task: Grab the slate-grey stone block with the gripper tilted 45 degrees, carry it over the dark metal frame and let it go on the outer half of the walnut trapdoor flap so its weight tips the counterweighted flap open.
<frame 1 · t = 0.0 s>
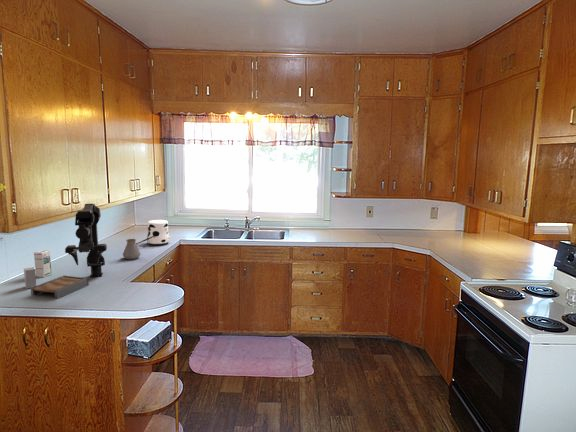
hand: (87, 264, 208), 15 cm above the worktop, tool pointing down, fingers open, 9 cm apart
coffee pot: (139, 258, 278), on the worktop
stone: (30, 286, 215), on the worktop
syrup box: (43, 275, 235), on the worktop
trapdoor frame: (62, 289, 213), on the worktop
trapdoor: (58, 286, 210), point 2 cm above the worktop, hinge at 0.0°
milk container: (158, 243, 320), on the worktop
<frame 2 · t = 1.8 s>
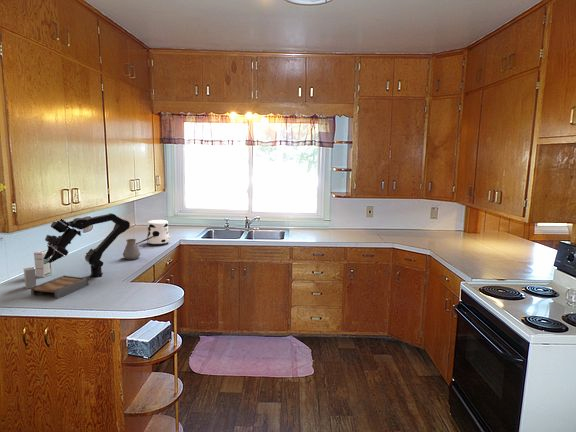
hand: (46, 260, 218), 13 cm above the worktop, tool tilted 45°, fingers open, 9 cm apart
nothing on the worktop moved.
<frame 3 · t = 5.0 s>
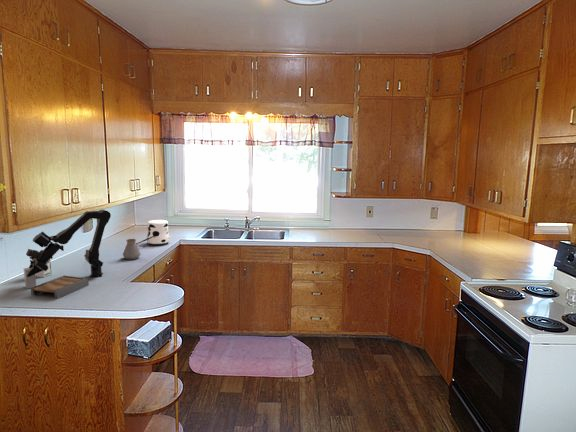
hand: (26, 275, 214), 7 cm above the worktop, tool tilted 45°, fingers closed on stone, 4 cm apart
stone: (30, 286, 215), on the worktop, touching gripper
everything else where it was.
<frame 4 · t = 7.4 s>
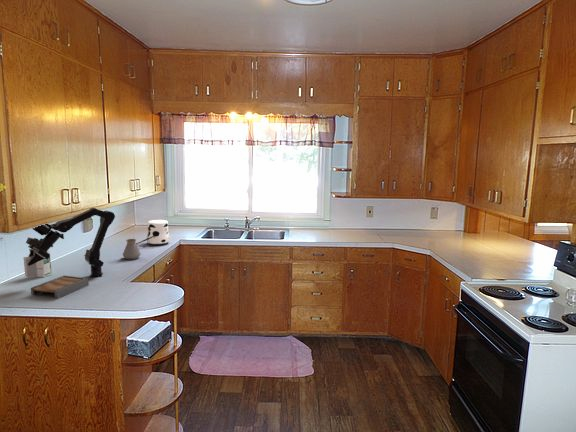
hand: (27, 264, 210), 13 cm above the worktop, tool tilted 45°, fingers closed on stone, 4 cm apart
stone: (31, 275, 212), point 7 cm above the worktop, touching gripper
everything else where it was.
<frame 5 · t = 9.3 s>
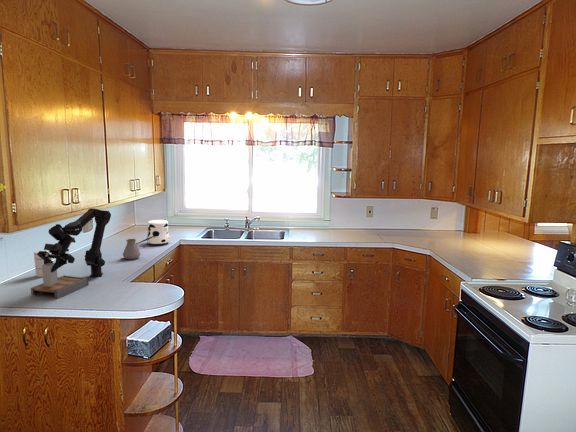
hand: (47, 271, 202), 12 cm above the worktop, tool tilted 45°, fingers closed on stone, 4 cm apart
stone: (50, 283, 205), point 6 cm above the worktop, touching gripper
everything else where it was.
when the fingers open (12 cm above the worktop, at t = 10.1 s): stone drops 3 cm, resting on trapdoor.
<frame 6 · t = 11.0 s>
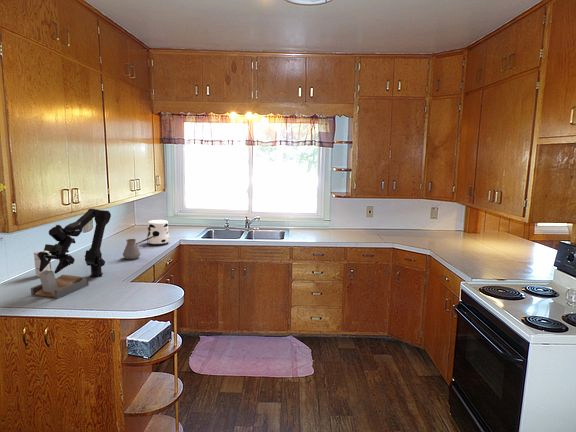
hand: (47, 272, 202), 12 cm above the worktop, tool tilted 45°, fingers open, 9 cm apart
stone: (51, 289, 205), point 2 cm above the worktop, tilted 13°, touching trapdoor
trapdoor: (59, 287, 210), point 2 cm above the worktop, hinge at -13.2°, touching stone
everything else where it was.
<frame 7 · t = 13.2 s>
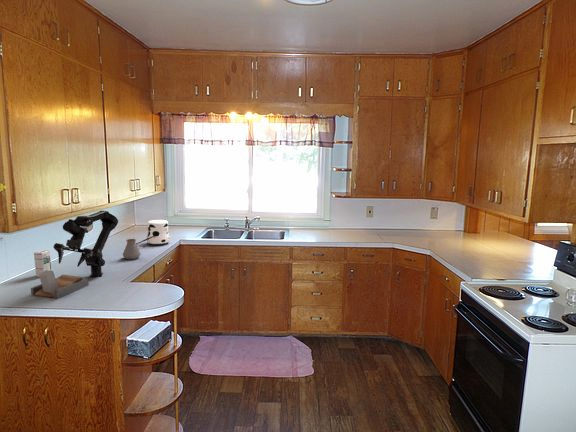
hand: (68, 265, 213), 13 cm above the worktop, tool tilted 35°, fingers open, 9 cm apart
nothing on the worktop moved.
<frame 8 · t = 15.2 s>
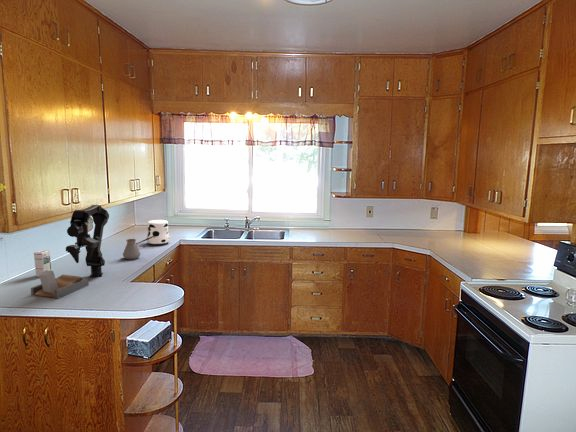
hand: (83, 260, 221), 13 cm above the worktop, tool pointing down, fingers open, 9 cm apart
nothing on the worktop moved.
at the end: trapdoor at -13° (first picture: +0°); stone inside the target area (0.0 cm from its centre), point 2.2 cm above the worktop; the gripper is holding nothing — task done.
